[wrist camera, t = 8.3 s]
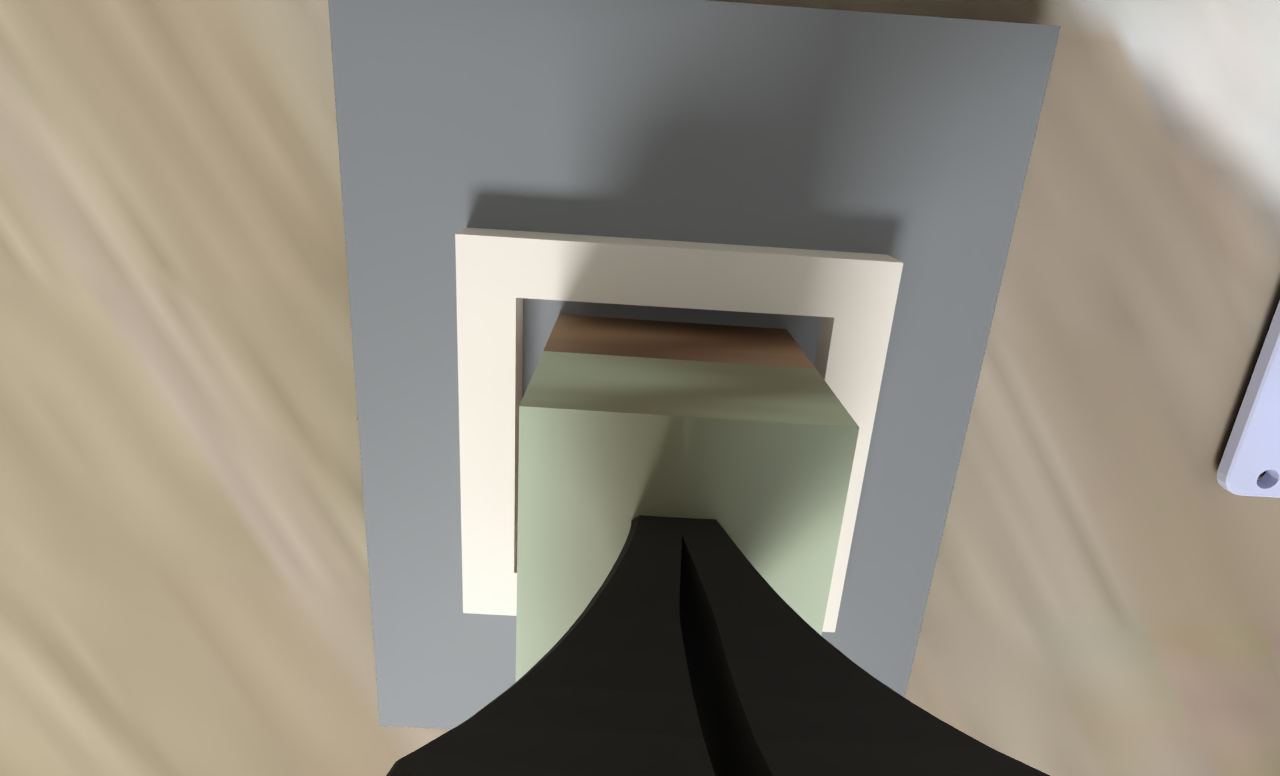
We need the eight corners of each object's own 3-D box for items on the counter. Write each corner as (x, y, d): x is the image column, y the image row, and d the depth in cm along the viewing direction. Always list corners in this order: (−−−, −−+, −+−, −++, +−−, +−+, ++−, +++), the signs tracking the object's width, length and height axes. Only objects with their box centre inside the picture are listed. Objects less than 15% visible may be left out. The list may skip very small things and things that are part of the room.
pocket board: (1029, 33, 15) (1091, 17, 13) (878, 717, 21) (904, 781, 19) (349, -16, 15) (303, -40, 13) (393, 693, 21) (366, 755, 19)
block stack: (786, 329, 16) (859, 428, 11) (758, 528, 18) (809, 698, 12) (559, 314, 16) (519, 405, 11) (552, 516, 18) (515, 682, 12)
